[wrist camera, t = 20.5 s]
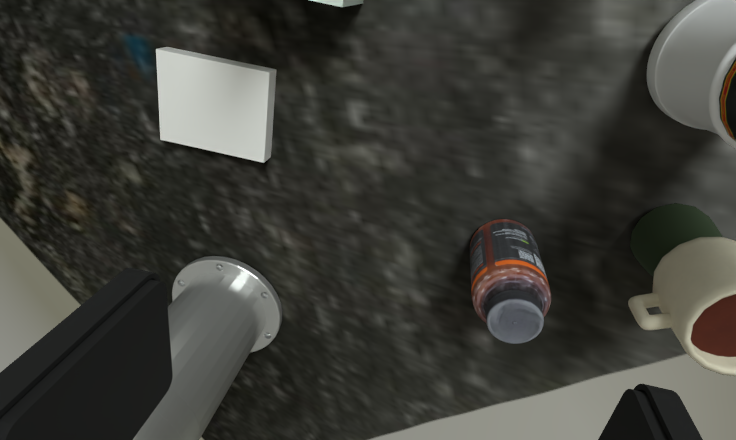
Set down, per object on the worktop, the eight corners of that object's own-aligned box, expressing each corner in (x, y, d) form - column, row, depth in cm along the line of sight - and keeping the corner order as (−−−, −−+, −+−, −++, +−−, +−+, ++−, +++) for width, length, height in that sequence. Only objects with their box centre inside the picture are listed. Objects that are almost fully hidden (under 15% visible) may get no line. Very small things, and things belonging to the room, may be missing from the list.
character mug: (604, 280, 43) (655, 387, 32) (592, 212, 40) (642, 302, 29) (743, 255, 40) (856, 365, 28) (739, 180, 37) (862, 267, 26)
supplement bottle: (472, 274, 45) (474, 355, 35) (466, 219, 43) (466, 290, 33) (537, 270, 44) (558, 354, 34) (535, 213, 41) (557, 285, 31)
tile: (264, 162, 42) (160, 139, 43) (272, 155, 44) (172, 133, 45) (269, 72, 38) (156, 48, 39) (278, 68, 40) (169, 46, 41)
